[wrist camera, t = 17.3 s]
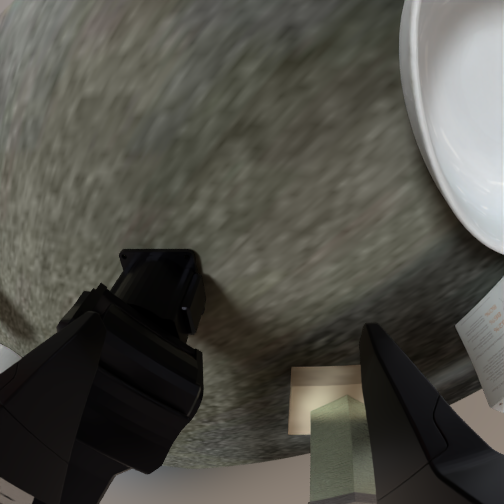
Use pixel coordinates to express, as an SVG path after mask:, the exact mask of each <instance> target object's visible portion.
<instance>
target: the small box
mask: <svg viewBox="0 0 504 504" xmlns="http://www.w3.org/2000/svg"><path fill="white" fill-rule="evenodd" d="M455 328H456V330H457V332H458V334H459V336H460V338H461V340H462V342H463V344H464V346H465V348H466V351H467V353H468V355H469V357H470V359H471V362H472V364H473V366H474V369H475V371H476V373H477V376H478V378H479V381H480V384H481V386H482V389H483V391H484V394H485V396H486V399H487V401H488V404H489V406H490V407H491V408H493V409H495V410H497V411H500V412H503V413H504V276H503V278H502V279H501V280H500V281H499V282H498V283H497V284H496V285H495V286H494V287H493V288H492V289H491V290H490V291H489V293H488V294H487V295H486V296H485V297H484V298H483V299H482V300H481V301H480V302H479V303H478V304H477V305H476V306H475V307H474V308H473V309H472V310H471V311H470V312H469V313H467V314H466V315H465V316H464V317H463V318H462V319H461V320H460V321H459V322H458V323H457V324H456V325H455Z"/></svg>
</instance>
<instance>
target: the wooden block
mask: <svg viewBox="0 0 504 504" xmlns="http://www.w3.org/2000/svg"><path fill="white" fill-rule="evenodd" d="M345 395H349V396H351V397H352V398H354V399H356V400H358V401H359V402H361V403H363V404H364V399H363V392H362V382H361V365H347V366H321V367H292V368H291V387H290V405H289V423H288V435H302V434H311V422H310V411H312V410H315V409H317V408H319V407H322V406H324V405H326V404H328V403H330V402H333V401H335V400H337V399H339V398H341V397H343V396H345Z"/></svg>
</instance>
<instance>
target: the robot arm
mask: <svg viewBox="0 0 504 504" xmlns="http://www.w3.org/2000/svg"><path fill="white" fill-rule="evenodd" d="M124 254H125V255H126V256H127V257H125V256H124ZM186 254H187V255H189V256H190V257H187V256H186ZM119 258H120V261H121V264H122V267H123V272H122V274H121V275H120V277H119V278H118V280H117V281H116V283H115V284H114V286H113V287H112V289H111V290H110V291H109V290H108V289H107V287H106V286H105V285H104V284H102V283H100V285H99V286H98V287H97V289H94V288H93V289H92V291H91V292H88V291H84V292H83V293H82V295H81V296H80V297H79V299H78V300H77V302H76V303H75V304H74V306H73V307H72V308H71V309H70V310H69V311H68V313H67V314H66V315H65V316H64V317H63V318H62V319H61V321H60V322H59V324H58V326H57V333H56V334H54V335H53V336H52V337H50V338H49V339H47V340H46V341H45V342H43V343H42V344H40V345H39V346H38V347H36V348H35V349H34V350H32V351H31V352H29V353H28V354H27V355H25V356H24V357H23V358H21V359H20V360H19V361H17V362H16V363H14V364H13V365H12V366H10V367H9V368H8V369H6V370H5V371H4V372H2V373H1V374H0V504H99V503H100V501H101V499H102V498H103V496H104V494H105V492H106V491H107V489H108V487H109V485H110V484H111V482H112V481H113V479H114V477H115V476H116V475H118V474H120V473H123V472H125V471H128V470H130V469H135V470H137V471H140V472H142V473H144V474H150V473H152V472H153V471H155V470H156V469H158V468H159V467H160V466H162V464H163V462H164V460H165V458H166V456H167V454H168V452H169V450H170V448H171V446H172V444H173V442H174V441H175V439H176V438H177V436H178V435H179V433H180V432H181V431H182V429H183V428H184V427H185V426H186V425H187V424H188V423H189V422H190V421H191V420H192V418H193V417H194V415H195V414H196V412H197V410H198V408H199V406H200V404H201V401H202V397H203V390H204V387H203V357H202V352H201V351H199V350H198V349H194V348H192V347H190V346H189V345H187V344H186V342H187V339H188V335H194V334H195V333H196V331H197V328H198V324H199V321H200V318H201V315H202V314H203V313H204V310H205V307H204V304H205V301H206V296H205V291H204V286H203V280H202V276H201V275H200V274H198V271H197V265H196V260H195V254H194V252H193V251H192V250H190V249H123V250H122V251H121V252H120V253H119ZM359 350H360V365H361V382H362V392H363V399H364V405H365V411H366V417H367V424H368V431H369V438H370V445H371V453H372V461H373V469H374V479H375V488H376V499H377V504H504V455H503V454H501V453H499V452H497V451H495V450H494V449H492V448H491V447H490V446H489V445H488V444H487V443H486V442H485V441H483V439H482V438H480V436H479V435H477V434H476V433H475V432H474V431H473V430H472V429H471V428H470V427H469V426H468V425H467V424H466V423H465V422H464V421H463V420H462V419H461V418H460V417H459V416H458V415H457V414H456V412H455V411H454V410H453V409H452V408H451V407H450V406H449V404H448V403H447V402H446V401H445V400H444V398H443V397H442V396H441V395H439V393H438V391H437V390H436V389H435V388H434V387H433V385H432V384H431V383H430V382H429V381H428V380H427V378H426V377H425V376H424V375H423V374H422V373H421V371H420V370H419V369H418V368H417V367H416V366H415V364H414V363H413V362H412V361H411V360H410V359H409V358H408V356H407V355H406V354H405V353H404V352H403V351H402V350H401V348H400V347H399V346H398V345H397V344H396V343H395V342H394V341H393V339H392V338H391V337H390V336H389V335H388V334H387V333H386V332H385V330H384V329H383V328H382V327H381V326H380V325H379V324H378V323H376V322H371V323H365V324H364V326H363V330H362V333H361V337H360V342H359Z"/></svg>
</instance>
